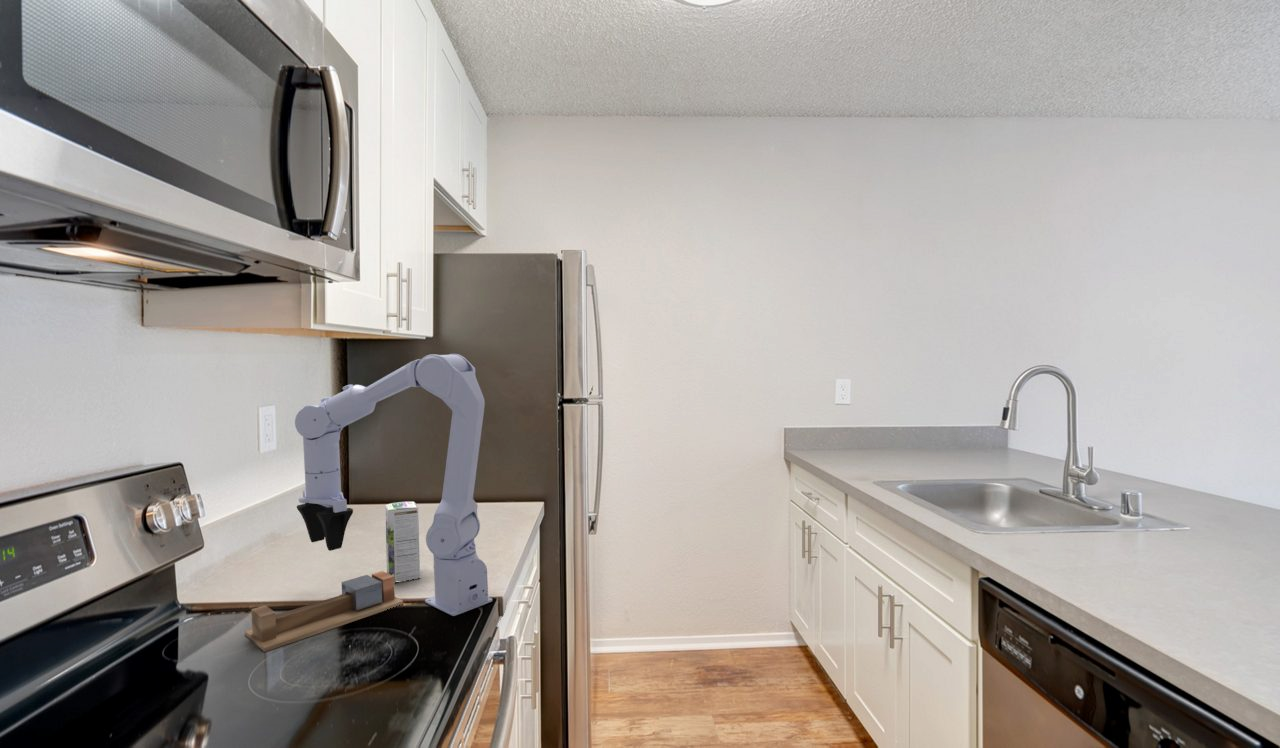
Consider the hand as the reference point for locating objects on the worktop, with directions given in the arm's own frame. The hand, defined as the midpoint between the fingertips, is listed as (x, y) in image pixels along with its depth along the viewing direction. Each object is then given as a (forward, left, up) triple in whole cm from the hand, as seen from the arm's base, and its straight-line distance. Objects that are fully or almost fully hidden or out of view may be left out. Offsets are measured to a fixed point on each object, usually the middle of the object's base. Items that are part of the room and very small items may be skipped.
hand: (326, 544), depth 112 cm
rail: (-9, +4, -10) cm, 14 cm away
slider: (-9, -2, -10) cm, 14 cm away
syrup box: (-1, -14, -10) cm, 17 cm away
